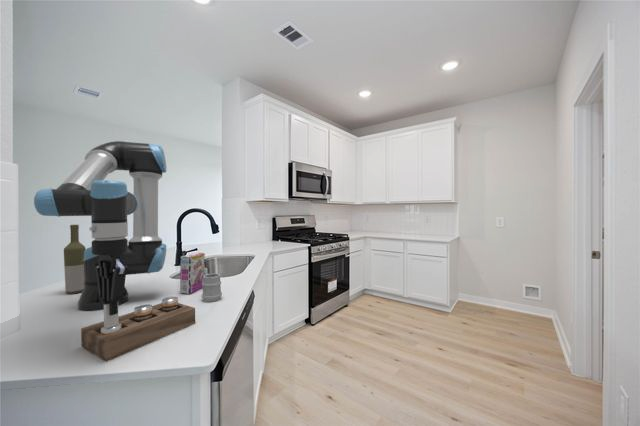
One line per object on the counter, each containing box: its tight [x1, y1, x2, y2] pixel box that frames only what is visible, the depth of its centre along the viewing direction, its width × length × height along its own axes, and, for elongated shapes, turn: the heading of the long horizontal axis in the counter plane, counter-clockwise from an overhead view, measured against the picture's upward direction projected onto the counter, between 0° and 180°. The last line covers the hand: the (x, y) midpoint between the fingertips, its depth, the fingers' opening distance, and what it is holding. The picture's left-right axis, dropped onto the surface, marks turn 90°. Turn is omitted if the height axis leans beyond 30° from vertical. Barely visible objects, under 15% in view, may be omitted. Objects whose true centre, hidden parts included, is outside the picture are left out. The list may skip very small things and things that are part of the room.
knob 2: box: [133, 304, 153, 323], centre depth 77 cm, size 4×4×5 cm
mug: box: [201, 267, 223, 303], centre depth 107 cm, size 8×12×12 cm, turn 48°
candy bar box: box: [179, 252, 206, 295], centre depth 117 cm, size 11×5×16 cm, turn 172°
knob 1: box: [101, 323, 122, 335], centre depth 70 cm, size 4×4×5 cm
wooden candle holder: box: [80, 302, 196, 362], centre depth 77 cm, size 14×24×5 cm, turn 151°
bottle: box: [63, 224, 87, 295], centre depth 114 cm, size 7×7×30 cm
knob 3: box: [161, 296, 179, 313], centre depth 84 cm, size 4×4×5 cm
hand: (111, 325), depth 69 cm, fingers closed
